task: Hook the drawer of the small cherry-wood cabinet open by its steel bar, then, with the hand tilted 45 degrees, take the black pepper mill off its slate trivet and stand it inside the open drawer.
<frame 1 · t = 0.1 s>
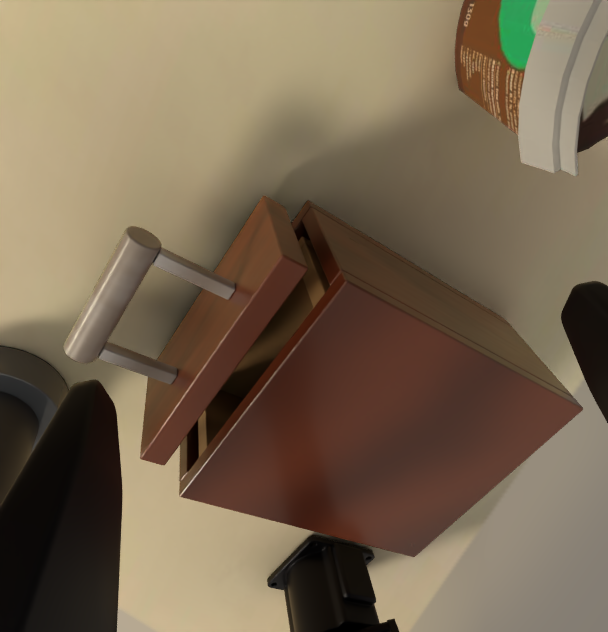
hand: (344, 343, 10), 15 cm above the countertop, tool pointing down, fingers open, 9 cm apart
drawer: (284, 360, 25), point 4 cm above the countertop, slide at 1.0 cm
cabinet: (347, 350, 30), on the countertop
trivet: (2, 395, 28), on the countertop
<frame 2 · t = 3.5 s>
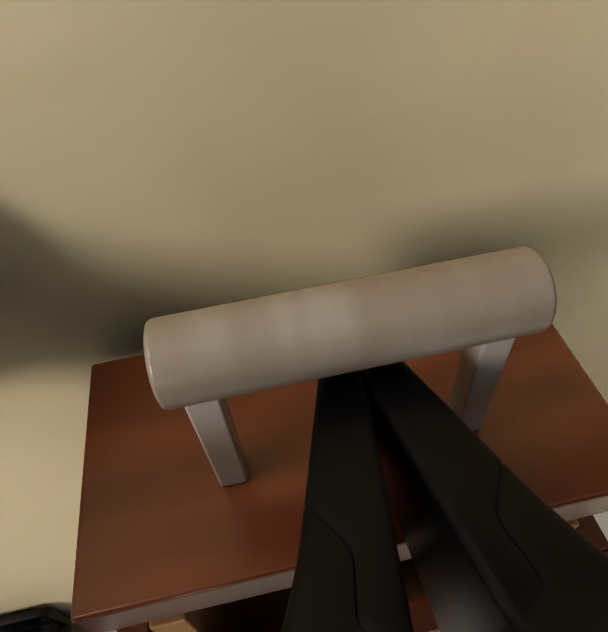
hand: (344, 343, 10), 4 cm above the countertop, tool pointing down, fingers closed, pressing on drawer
drawer: (343, 493, 15), point 4 cm above the countertop, slide at 3.0 cm, touching gripper
cabinet: (323, 474, 23), on the countertop
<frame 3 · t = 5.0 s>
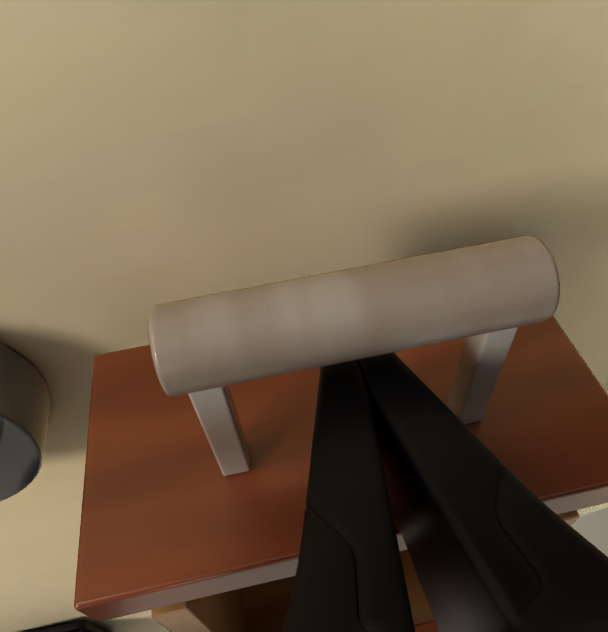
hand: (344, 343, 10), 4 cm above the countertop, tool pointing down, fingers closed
drawer: (344, 486, 15), point 4 cm above the countertop, slide at 8.1 cm
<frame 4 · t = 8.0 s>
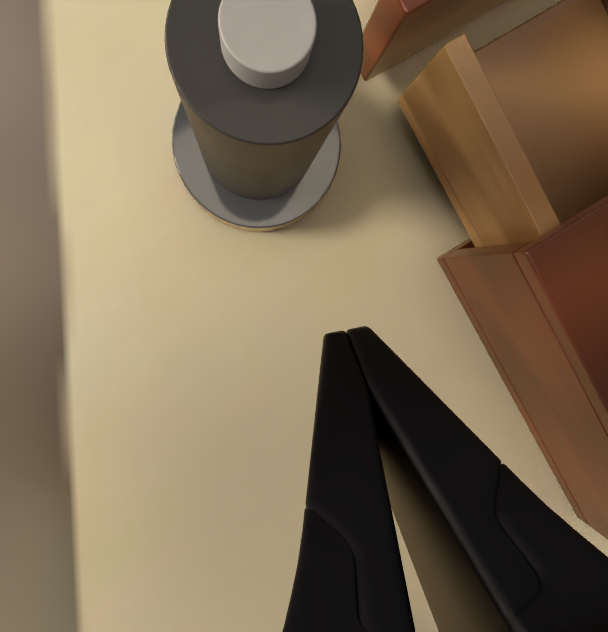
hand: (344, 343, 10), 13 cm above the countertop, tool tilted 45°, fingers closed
drawer: (553, 57, 20), point 4 cm above the countertop, slide at 8.1 cm
pepper mill: (257, 142, 20), point 2 cm above the countertop, touching trivet
trivet: (256, 154, 22), on the countertop
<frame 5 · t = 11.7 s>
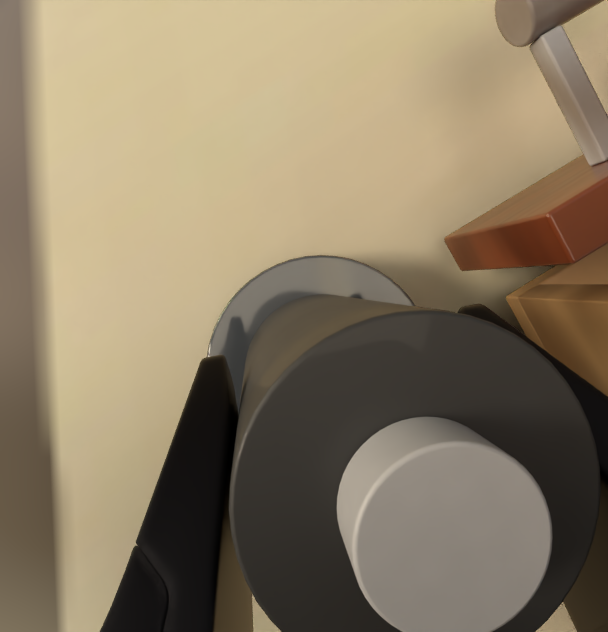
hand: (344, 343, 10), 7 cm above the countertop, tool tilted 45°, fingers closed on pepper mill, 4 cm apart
pepper mill: (322, 371, 15), point 2 cm above the countertop, touching gripper, trivet
trivet: (314, 360, 17), on the countertop
when the fingers open (7 cm above the countertop, at t = 17.9 s): pepper mill stays where it is, resting on drawer.
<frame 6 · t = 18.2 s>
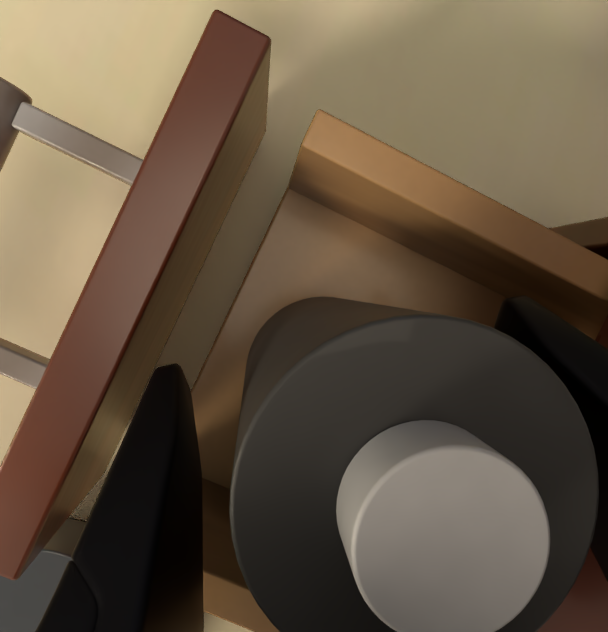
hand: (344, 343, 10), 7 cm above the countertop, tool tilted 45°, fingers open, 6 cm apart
drawer: (287, 361, 13), point 4 cm above the countertop, slide at 8.3 cm, touching pepper mill
cabinet: (602, 493, 18), on the countertop
pepper mill: (322, 373, 15), point 2 cm above the countertop, touching drawer
trivet: (52, 617, 17), on the countertop
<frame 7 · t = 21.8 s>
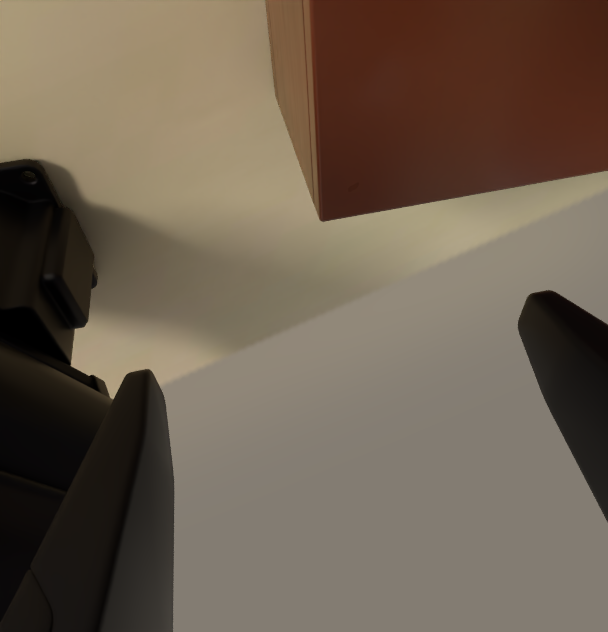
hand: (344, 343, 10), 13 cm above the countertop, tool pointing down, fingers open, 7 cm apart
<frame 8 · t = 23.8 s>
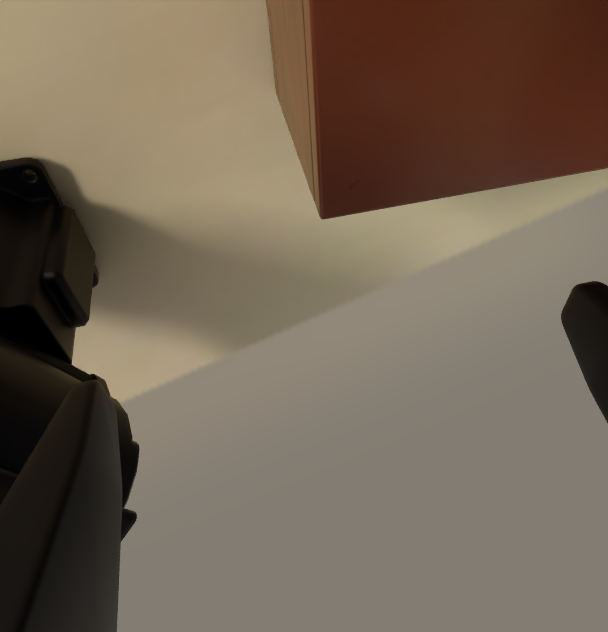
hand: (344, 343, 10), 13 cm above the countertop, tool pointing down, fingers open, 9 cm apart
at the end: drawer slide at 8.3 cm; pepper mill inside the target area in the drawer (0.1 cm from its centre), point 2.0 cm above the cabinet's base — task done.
